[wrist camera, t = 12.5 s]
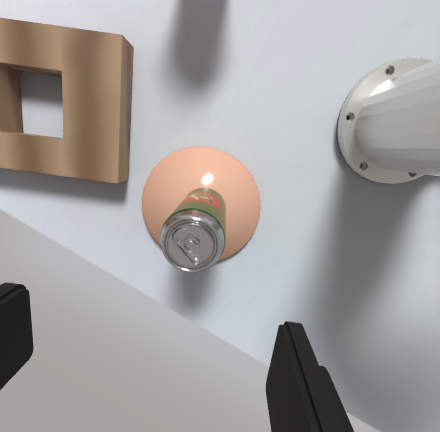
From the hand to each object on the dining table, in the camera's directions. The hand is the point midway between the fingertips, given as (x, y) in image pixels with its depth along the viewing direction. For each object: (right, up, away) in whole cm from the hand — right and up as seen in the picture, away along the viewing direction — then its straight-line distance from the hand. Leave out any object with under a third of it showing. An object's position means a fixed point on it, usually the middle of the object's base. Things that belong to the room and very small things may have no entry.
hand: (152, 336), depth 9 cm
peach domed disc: (0, +6, +22) cm, 22 cm away
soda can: (+1, +5, +21) cm, 22 cm away
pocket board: (-16, +17, +19) cm, 30 cm away
